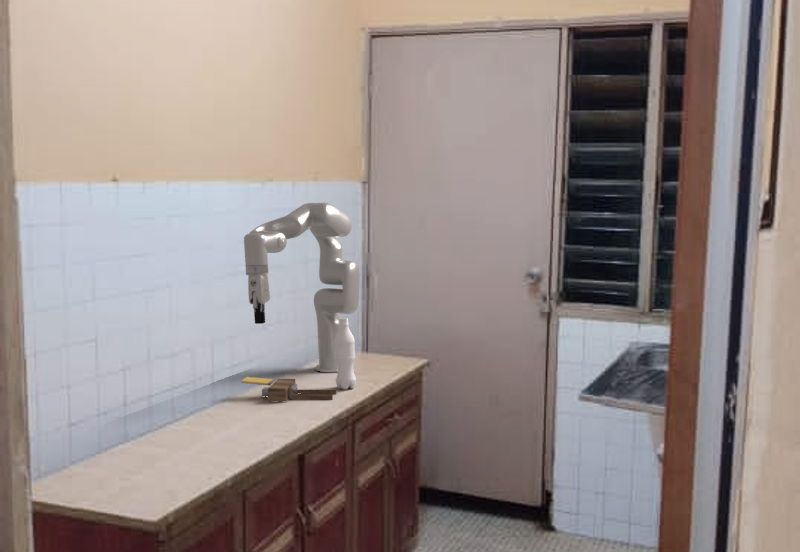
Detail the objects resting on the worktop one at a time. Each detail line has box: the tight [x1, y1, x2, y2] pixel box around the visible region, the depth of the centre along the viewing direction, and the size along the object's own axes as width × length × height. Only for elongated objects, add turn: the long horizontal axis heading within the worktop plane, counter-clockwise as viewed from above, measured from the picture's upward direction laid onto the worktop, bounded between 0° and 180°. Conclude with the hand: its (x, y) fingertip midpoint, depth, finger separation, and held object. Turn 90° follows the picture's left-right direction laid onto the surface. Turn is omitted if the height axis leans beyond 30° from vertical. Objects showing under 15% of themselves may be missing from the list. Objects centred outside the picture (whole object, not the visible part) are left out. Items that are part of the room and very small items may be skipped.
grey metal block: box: [261, 383, 299, 398], centre depth 291 cm, size 11×6×4 cm, turn 81°
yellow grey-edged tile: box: [241, 376, 276, 387], centre depth 292 cm, size 6×10×1 cm, turn 84°
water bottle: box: [334, 316, 357, 391], centre depth 300 cm, size 7×7×25 cm
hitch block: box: [267, 378, 337, 402], centre depth 290 cm, size 14×21×5 cm, turn 84°
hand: (260, 323), depth 292 cm, fingers closed
